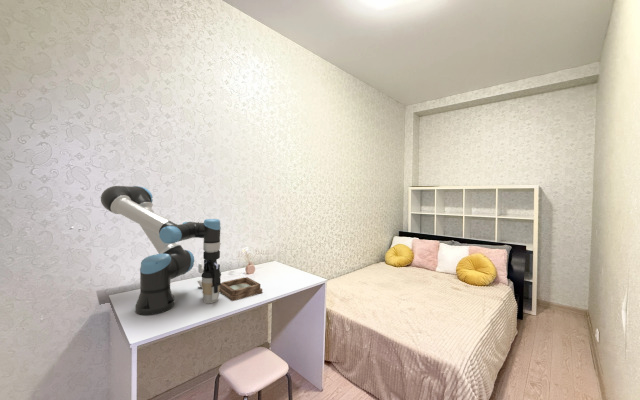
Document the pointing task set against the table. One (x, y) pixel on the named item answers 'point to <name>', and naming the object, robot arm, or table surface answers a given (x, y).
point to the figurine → (200, 272)
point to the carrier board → (240, 288)
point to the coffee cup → (208, 287)
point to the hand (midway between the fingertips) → (211, 296)
